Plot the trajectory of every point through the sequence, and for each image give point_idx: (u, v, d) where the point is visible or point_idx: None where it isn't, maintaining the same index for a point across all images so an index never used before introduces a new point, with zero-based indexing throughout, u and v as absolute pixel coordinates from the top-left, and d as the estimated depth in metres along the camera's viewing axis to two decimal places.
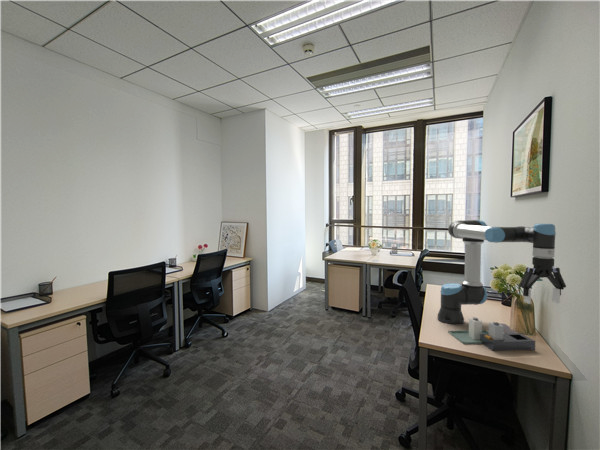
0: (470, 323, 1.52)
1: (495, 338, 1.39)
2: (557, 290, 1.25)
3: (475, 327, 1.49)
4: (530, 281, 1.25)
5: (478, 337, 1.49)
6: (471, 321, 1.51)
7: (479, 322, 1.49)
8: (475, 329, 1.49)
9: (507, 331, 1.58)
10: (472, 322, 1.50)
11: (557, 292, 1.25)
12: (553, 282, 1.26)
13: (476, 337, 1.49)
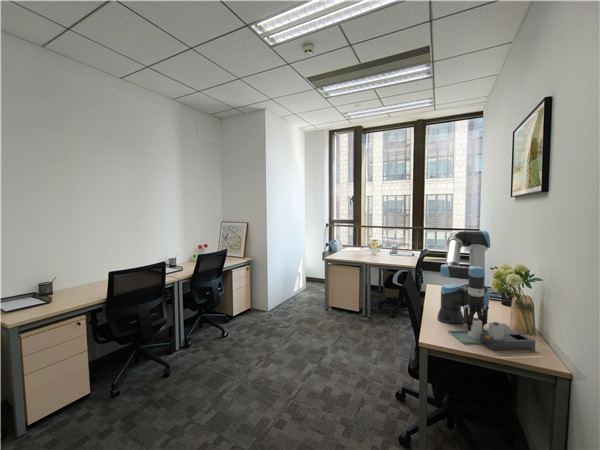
0: None
1: (495, 338, 1.39)
2: None
3: (475, 327, 1.49)
4: (470, 318, 1.50)
5: (478, 337, 1.49)
6: None
7: (479, 322, 1.49)
8: (475, 329, 1.49)
9: (507, 331, 1.58)
10: (472, 322, 1.50)
11: None
12: (479, 318, 1.51)
13: (476, 337, 1.49)
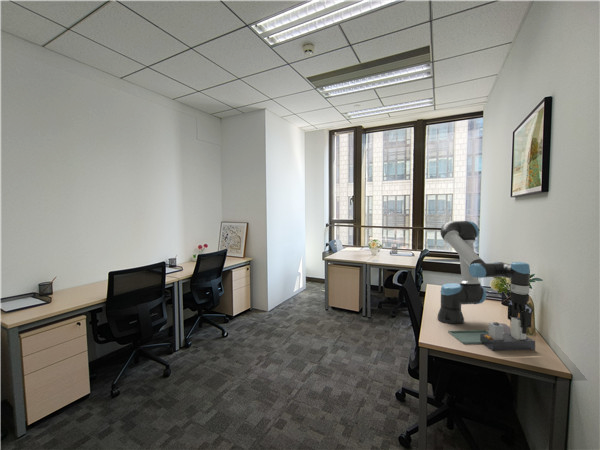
0: None
1: (495, 338, 1.39)
2: None
3: (512, 324, 1.42)
4: None
5: (514, 336, 1.41)
6: None
7: (515, 320, 1.40)
8: (512, 327, 1.42)
9: (507, 331, 1.58)
10: None
11: None
12: None
13: (513, 335, 1.42)
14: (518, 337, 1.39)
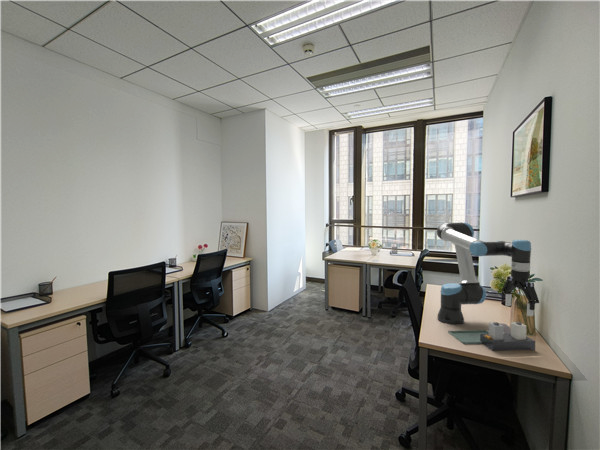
0: None
1: (495, 338, 1.39)
2: None
3: (512, 329, 1.42)
4: None
5: None
6: None
7: (515, 325, 1.40)
8: (512, 332, 1.42)
9: (507, 331, 1.58)
10: None
11: None
12: None
13: None
14: None
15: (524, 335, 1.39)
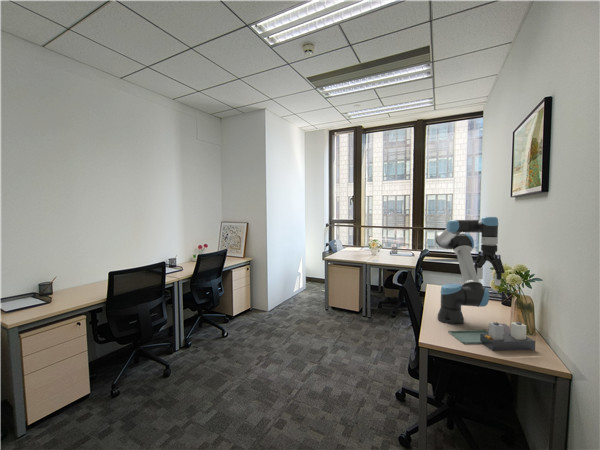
0: None
1: (495, 338, 1.39)
2: None
3: (512, 329, 1.42)
4: None
5: None
6: None
7: (515, 325, 1.40)
8: (512, 332, 1.42)
9: (507, 331, 1.58)
10: None
11: None
12: None
13: None
14: None
15: (524, 335, 1.39)
